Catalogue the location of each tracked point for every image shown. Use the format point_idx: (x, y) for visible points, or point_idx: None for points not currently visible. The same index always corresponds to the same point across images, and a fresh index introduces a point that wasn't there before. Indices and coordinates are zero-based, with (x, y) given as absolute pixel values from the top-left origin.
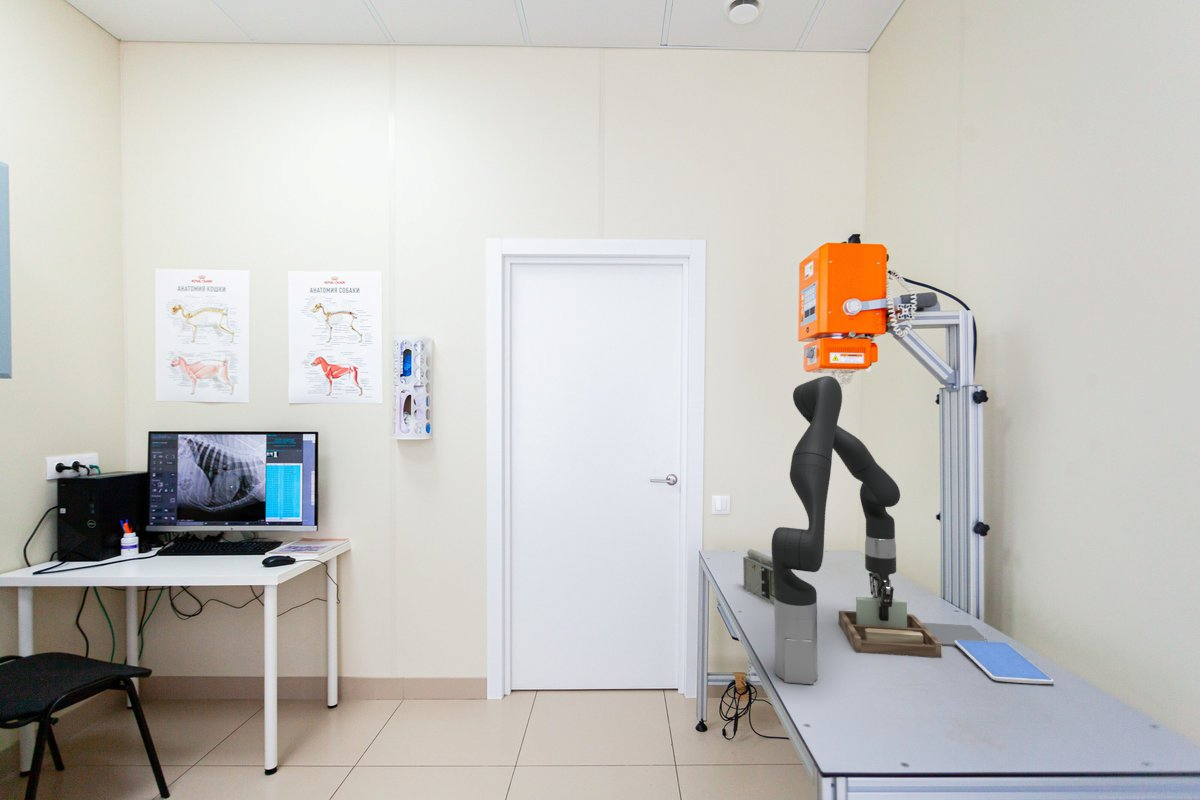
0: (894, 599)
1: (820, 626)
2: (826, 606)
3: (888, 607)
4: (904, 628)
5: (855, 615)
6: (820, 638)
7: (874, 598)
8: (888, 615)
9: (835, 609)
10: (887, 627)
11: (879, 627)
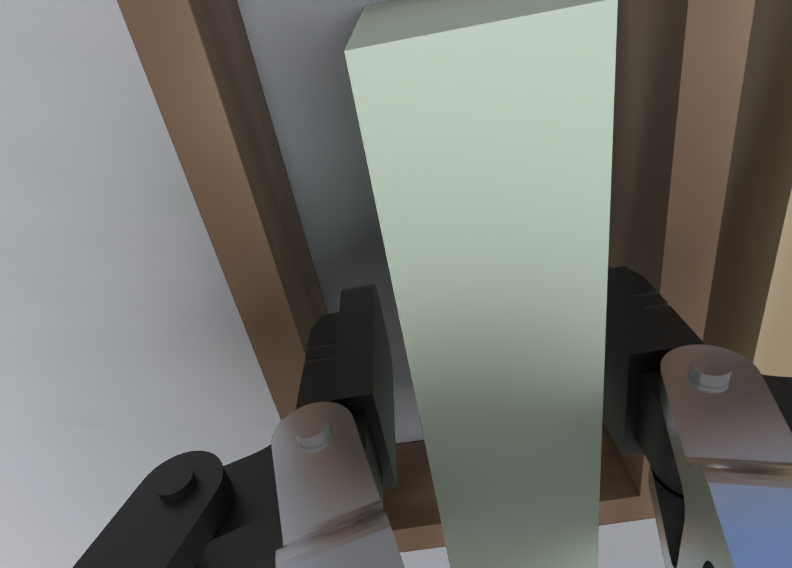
0: (441, 277)
1: (444, 546)
2: (36, 530)
3: (673, 345)
4: (727, 60)
5: None
6: (635, 541)
7: (483, 546)
8: (616, 277)
9: (61, 489)
10: (698, 250)
11: (705, 320)
